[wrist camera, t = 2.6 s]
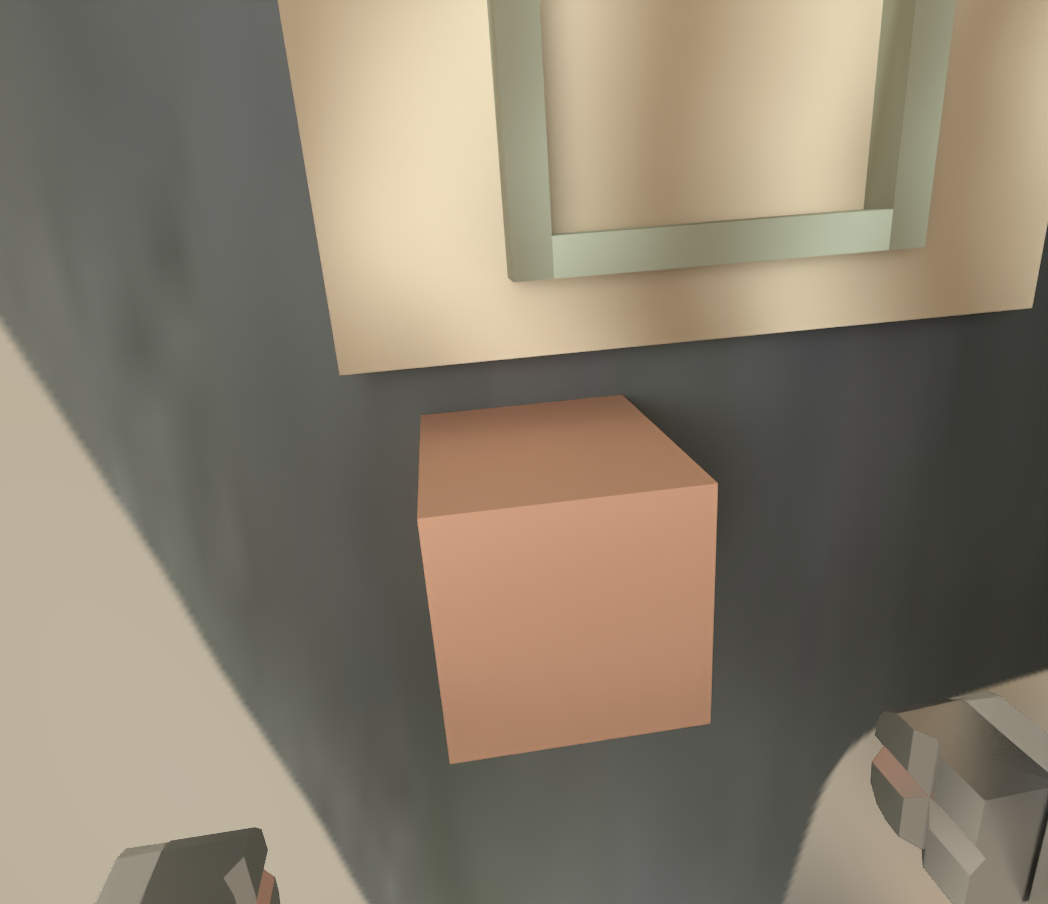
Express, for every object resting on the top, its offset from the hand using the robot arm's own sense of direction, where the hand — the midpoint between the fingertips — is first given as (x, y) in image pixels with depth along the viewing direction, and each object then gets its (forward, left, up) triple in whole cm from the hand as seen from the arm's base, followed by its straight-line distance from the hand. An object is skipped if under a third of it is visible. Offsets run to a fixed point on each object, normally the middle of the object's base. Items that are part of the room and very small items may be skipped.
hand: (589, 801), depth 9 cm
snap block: (-1, 0, -9) cm, 9 cm away
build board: (-5, -10, -9) cm, 14 cm away
